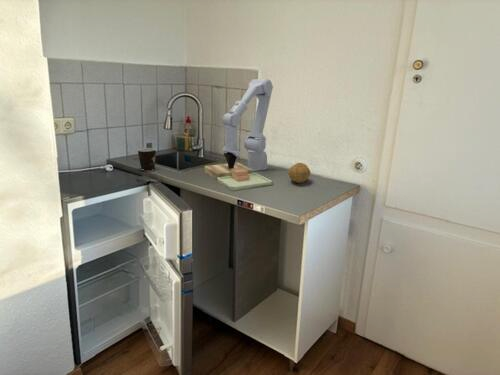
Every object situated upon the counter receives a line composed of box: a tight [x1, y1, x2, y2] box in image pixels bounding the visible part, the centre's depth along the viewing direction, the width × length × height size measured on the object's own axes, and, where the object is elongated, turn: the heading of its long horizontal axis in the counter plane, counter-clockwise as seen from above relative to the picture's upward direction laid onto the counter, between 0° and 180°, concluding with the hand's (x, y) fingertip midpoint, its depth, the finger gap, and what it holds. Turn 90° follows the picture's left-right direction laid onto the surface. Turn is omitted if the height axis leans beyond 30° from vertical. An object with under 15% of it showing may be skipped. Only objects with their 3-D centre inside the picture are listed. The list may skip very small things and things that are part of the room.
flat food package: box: [204, 162, 254, 180], centre depth 184 cm, size 18×16×3 cm
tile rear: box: [231, 168, 248, 177], centre depth 174 cm, size 6×6×2 cm
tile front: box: [232, 174, 250, 182], centre depth 173 cm, size 6×6×2 cm
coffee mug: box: [137, 147, 157, 171], centre depth 188 cm, size 12×9×10 cm
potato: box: [288, 162, 311, 184], centre depth 172 cm, size 10×14×8 cm
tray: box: [216, 172, 274, 192], centre depth 170 cm, size 20×16×2 cm
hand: (231, 168), depth 181 cm, fingers closed
